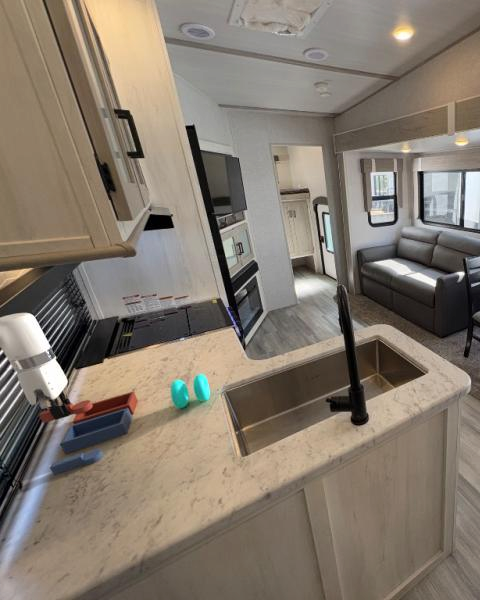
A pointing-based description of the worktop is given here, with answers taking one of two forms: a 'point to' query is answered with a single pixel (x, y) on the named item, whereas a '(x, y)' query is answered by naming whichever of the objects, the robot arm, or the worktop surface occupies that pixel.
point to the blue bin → (96, 430)
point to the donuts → (181, 391)
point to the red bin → (108, 407)
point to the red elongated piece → (75, 409)
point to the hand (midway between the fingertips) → (64, 414)
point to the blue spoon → (76, 461)
